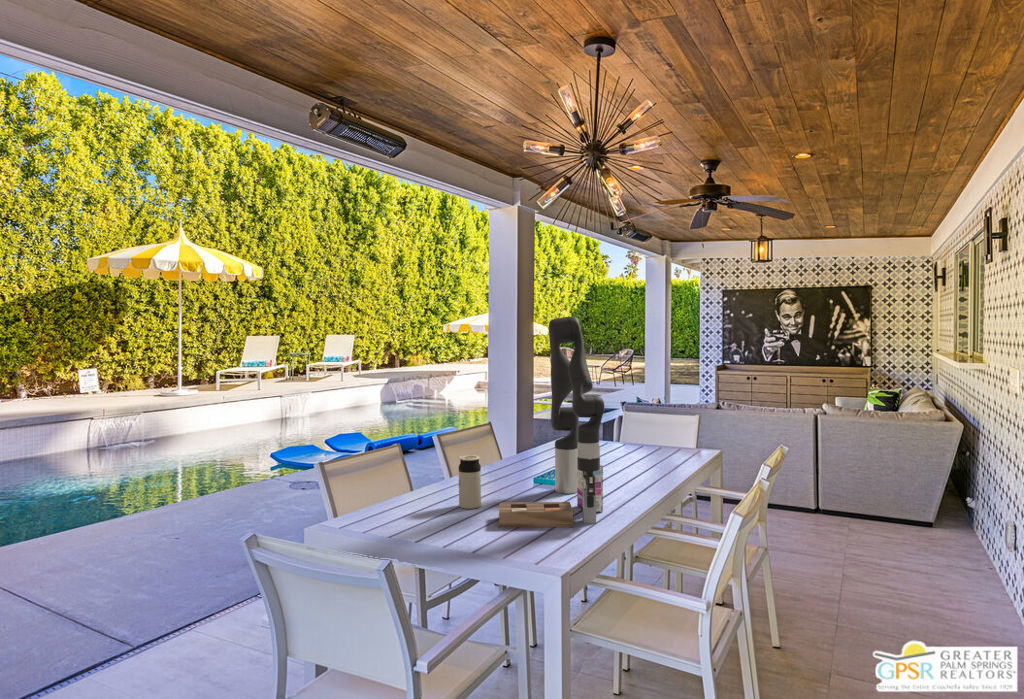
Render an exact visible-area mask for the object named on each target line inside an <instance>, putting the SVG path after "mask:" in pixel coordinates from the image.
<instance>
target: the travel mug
mask: <svg viewBox="0 0 1024 699" xmlns="http://www.w3.org/2000/svg"><path fill="white" fill-rule="evenodd" d="M458 459H459V462H460V463H459V465H458V506H459V508H461V509H464V510H474V509H478V508H480V507H481V506H482V479H481V478H482V477H481V476H482V474H481V468H482V466H481V464H480V459H481V457H480V456H479V455H475V454H473V455H471V454H470V455H469V454H468V455H461V456H459V458H458Z"/></svg>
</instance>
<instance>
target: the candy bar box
mask: <svg viewBox="0 0 1024 699" xmlns="http://www.w3.org/2000/svg"><path fill="white" fill-rule="evenodd" d="M603 467H604V466H603V465H601V464H600V470H598V471H594V472H593V475H594V476H595V492H596V514H597V513H599V512H600V513H603V510H604V509H603V508H604V507H603V504H604V503H603V502H604V499H603V496H604V494H603V493H604V492H603V489H604V487H603V485H604V484H603V483H604V482H603V481H604V477H603V476H604V474H603V473H604V472H603V471H604V470H603V469H604V468H603ZM582 475H583V471H580V470H578V469H577V492H576V493H577V494H576V495H577V497H576V500H577V504H576V505H577V507H578V508H581V509H582V510H583V490H585V489H584V488H583V483H582V481H583V480H582Z"/></svg>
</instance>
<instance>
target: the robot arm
mask: <svg viewBox="0 0 1024 699" xmlns="http://www.w3.org/2000/svg"><path fill="white" fill-rule="evenodd" d="M548 336H549V337H548V338H549V348H550V385H551V386H550V388H551V408H550V409H551V411H550V424H551V428H552V430H554V431H561V432H565V431H566V432H567V431H569V433H568V434H566V435H565V436H564V437H561V438H558V439H556V440H555V441H554V487H555V488H554V491H555V492H556V493H558V494H565V495H566V494H567V495H568V494H575V493H577V469H578V470H580V471H583V475H582V480H583V481H582V483H583V488H584V489H585V490H586V495H587V507H588V508H593V507H594V496H595V476H594V475H593V472H594V471H598V470H600V465H601V448H600V447H601V445H600V427H601V424H602V419H603V415H604V412H605V401H604V400H603V397H602V396H601V395H598V394H597V395H595V394H593V395H584V394H586V393H587V394H588V393H590V391H592V389H593V386H594V384H593V381H592V377H591V374H590V371H589V367H588V363H587V362H588V361H587V357H586V356H587V355H586V351H585V344H584V343H585V342H584V338H583V333H582V328H581V324H580V321H579V319H578V318H577V316H574V315H573V316H572V315H571V316H564V317H563V316H562V317H558V318H557V317H556V318H552V319H551V320H549V323H548ZM568 343H574V351H573V352H572V353H573V354H572V355H571V359H569V358H568V356H566V355H565V353H564V352H563V351H562V349H561V347H560V346H561V344H562V345H563V344H568ZM571 393H572V405H571V406H567V407H566V406H564V407H563V406H562V404H563V402H564V400H566V399H567V397H568V396H569V395H570V394H571ZM587 417H589V420H588V421H587V422H584V423H581V424H579V421H580V420H579V419H580V418H587ZM589 490H592V492H589Z"/></svg>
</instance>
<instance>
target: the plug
mask: <svg viewBox="0 0 1024 699" xmlns="http://www.w3.org/2000/svg"><path fill="white" fill-rule="evenodd" d="M589 492H592V490H589ZM582 521H583V524H597V513H596V492H595V496H594V507H593V508H588V507H587V495H586V490H583V509H582Z"/></svg>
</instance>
